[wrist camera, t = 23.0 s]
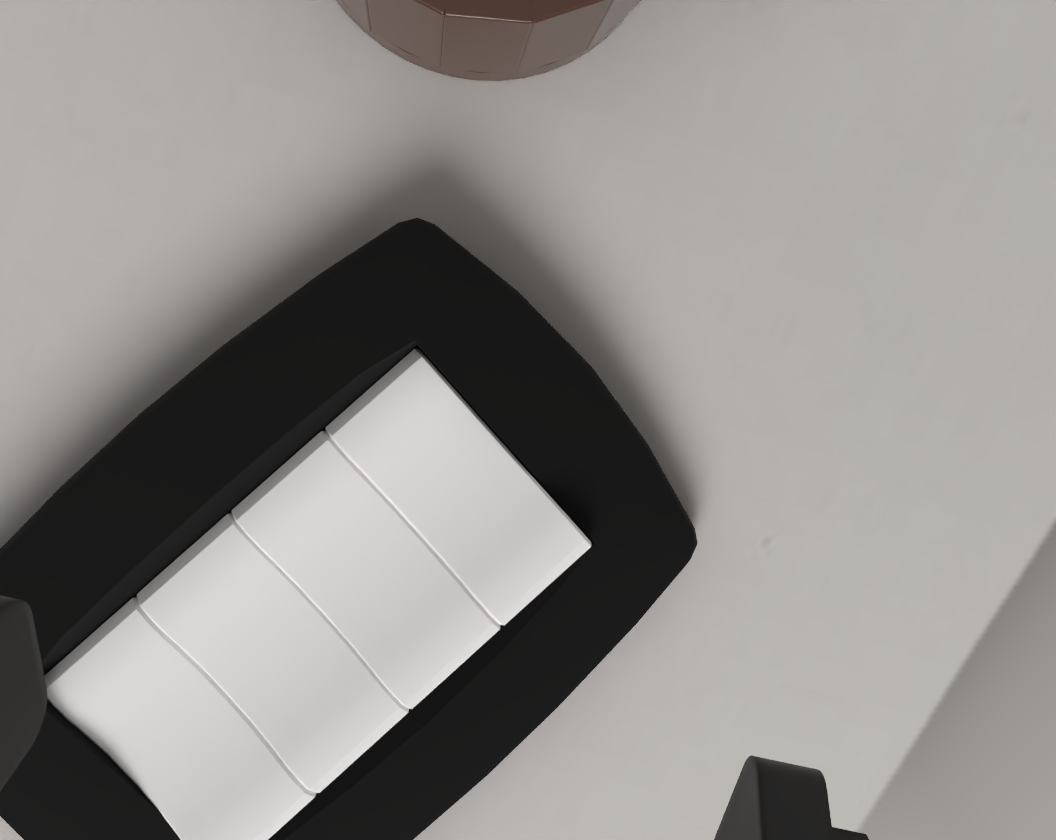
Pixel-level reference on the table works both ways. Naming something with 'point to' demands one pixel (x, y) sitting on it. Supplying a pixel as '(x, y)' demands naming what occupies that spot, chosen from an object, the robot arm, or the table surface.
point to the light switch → (336, 565)
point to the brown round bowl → (488, 32)
